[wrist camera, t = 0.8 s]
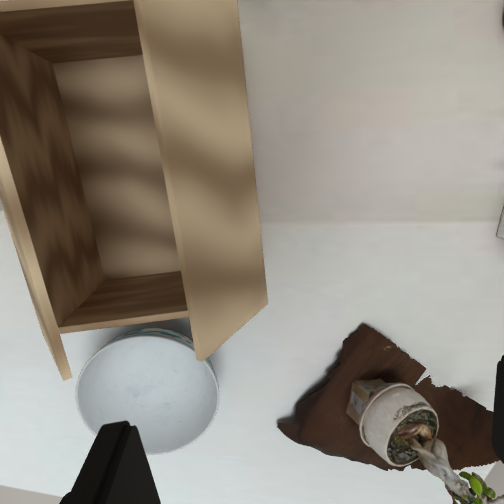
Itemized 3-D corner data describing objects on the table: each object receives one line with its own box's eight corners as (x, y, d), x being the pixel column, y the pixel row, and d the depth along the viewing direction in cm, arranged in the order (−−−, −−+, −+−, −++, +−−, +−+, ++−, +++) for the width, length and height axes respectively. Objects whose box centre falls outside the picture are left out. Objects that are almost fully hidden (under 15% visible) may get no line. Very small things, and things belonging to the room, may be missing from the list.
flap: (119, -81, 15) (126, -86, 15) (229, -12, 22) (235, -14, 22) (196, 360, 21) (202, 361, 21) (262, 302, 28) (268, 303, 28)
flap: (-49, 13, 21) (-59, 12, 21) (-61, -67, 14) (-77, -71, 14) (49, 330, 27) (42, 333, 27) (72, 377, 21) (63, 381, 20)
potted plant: (344, 310, 46) (564, 451, 23) (419, 352, 54) (634, 486, 32) (270, 432, 46) (419, 686, 24) (356, 455, 55) (525, 659, 32)
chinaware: (76, 343, 41) (44, 383, 34) (177, 282, 40) (166, 310, 33) (148, 424, 45) (133, 476, 38) (241, 370, 44) (245, 413, 37)
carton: (47, 59, 33) (-49, 5, 21) (228, 41, 34) (229, -20, 22) (103, 283, 40) (52, 334, 28) (252, 264, 40) (263, 307, 29)
